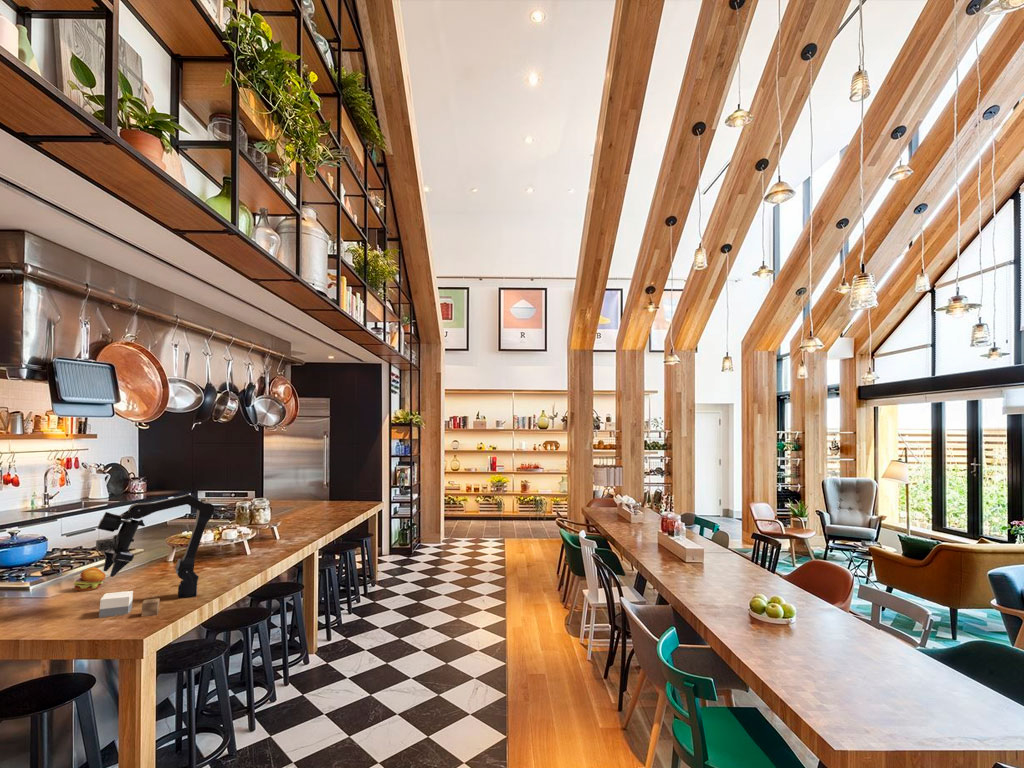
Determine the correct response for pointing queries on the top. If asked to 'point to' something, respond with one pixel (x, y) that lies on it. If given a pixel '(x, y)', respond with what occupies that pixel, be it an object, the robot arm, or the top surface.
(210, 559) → the top surface
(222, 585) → the top surface
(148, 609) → the walnut block
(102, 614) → the tower base slab
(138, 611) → the top surface
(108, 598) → the tower top slab
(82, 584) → the cheeseburger
